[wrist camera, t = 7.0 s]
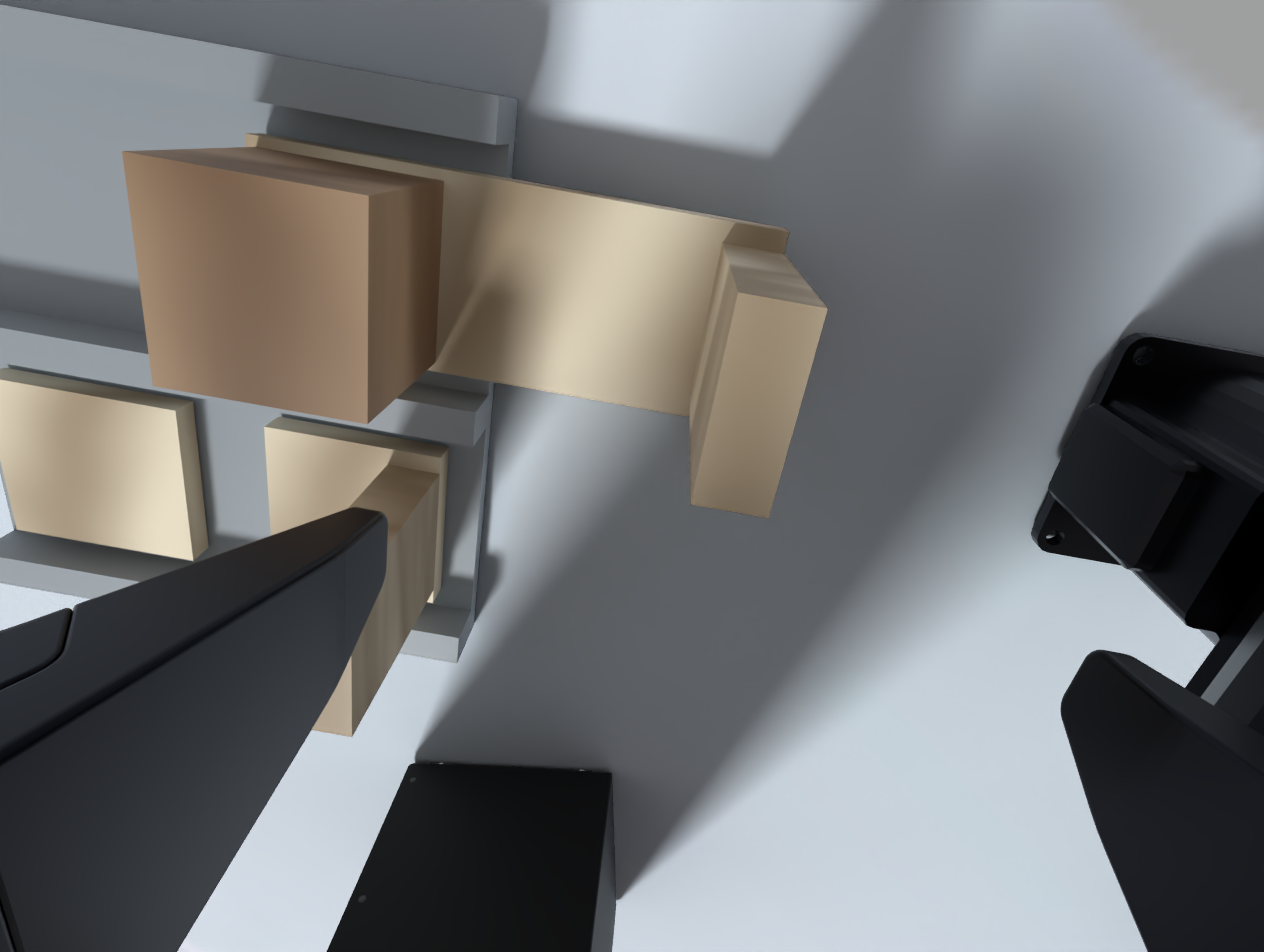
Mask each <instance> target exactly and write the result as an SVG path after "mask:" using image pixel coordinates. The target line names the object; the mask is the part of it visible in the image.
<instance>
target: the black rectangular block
mask: <svg viewBox="0 0 1264 952" xmlns="http://www.w3.org/2000/svg"><path fill="white" fill-rule="evenodd" d="M615 911H616V891H615V856H614V821H613V786H612V774H611V773H601V772H592V771H585V770H558V769H538V768H517V767H496V766H476V765H455V764H444V763H439V764H435V763H430V764H416V763H414V764H411V765H409V766H408V768H407V771H406V773H405V775H404V778H403V780H402V782H401V784H400V787H399V789H398V791H397V793H396V796H395V798H394V800H393V802H392V805H391V807H390V809H389V812H388V814H387V816H386V818H385V821H384V823H383V825H382V827H381V830H380V832H379V834H378V837H377V839H376V841H375V843H374V846H373V848H372V850H371V852H370V855H369V857H368V859H367V861H366V864H365V866H364V868H363V871H362V873H361V875H360V877H359V880H358V882H357V884H356V886H355V889H354V891H353V893H352V896H351V898H350V900H349V902H348V905H347V907H346V909H345V911H344V914H343V916H342V918H341V920H340V923H339V925H338V927H337V930H336V932H335V934H334V936H333V939H332V941H331V943H330V945H329V948H328V950H327V952H612V946H613V945H612V944H613V935H614V934H613V933H614V922H615V914H616V913H615Z"/></svg>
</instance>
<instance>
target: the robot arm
mask: <svg viewBox="0 0 1264 952" xmlns="http://www.w3.org/2000/svg"><path fill="white" fill-rule="evenodd" d="M1143 346H1145V348H1146V350H1145V354H1144V355H1143V356H1142V358H1140V359H1138V360H1136V361H1134V360H1133V356H1134V353H1135V352H1136V351H1137V349H1139V348H1141V347H1143ZM1048 489H1049V490H1050V492H1049V494H1048V496H1047V498H1046V500H1045V502H1044V504H1043V507H1042V509H1041V511H1040V513H1039V515H1038V517H1037V519H1036V521H1035V524H1034V526H1033V528H1032V532H1031V535H1032V539H1033V540H1034V541H1035V543H1036V544H1037V545H1038V546H1039V547H1040V548H1041V549H1042V550H1043V551H1046V552H1049V553H1055V554H1060V555H1066V556H1071V557H1077V558H1083V559H1088V560H1094V561H1099V562H1105V563H1111V564H1116V565H1122V566H1123V567H1124V568H1126V569H1129V570H1131V571H1132V572H1133V573H1134V574H1135V575H1136V576H1137V577H1138V578H1139V579H1140V580H1141V581H1142V582H1143V583H1144V584H1145V585H1146V586H1147V587H1148V588H1149V589H1150V590H1151V591H1153V592H1154V593H1155V594H1156V595H1157V596H1158V597H1159V598H1160V599H1161V600H1162V601H1163V602H1164V603H1165V604H1166V605H1167V606H1168V607H1169V608H1170V609H1171V610H1172V611H1173V612H1174V613H1175V614H1176V615H1177V616H1178V617H1179V618H1180V619H1181V620H1182V621H1183V622H1184V623H1185V624H1186V625H1187V626H1189V627H1192V628H1196V629H1199V630H1200V631H1201V632H1202V633H1203V634H1204V635H1205V636H1206V637H1207V638H1208V639H1209V640H1210V641H1211V642H1212V643H1213V644H1214V645H1215V647H1214V648H1213V650H1212V651H1211V652H1210V654H1209V655H1208V657H1207V658H1206V659H1205V661H1204V662H1203V664H1202V665H1201V666H1200V668H1199V669H1198V671H1197V672H1196V673H1195V675H1194V676H1193V678H1192V679H1191V680H1190V682H1189V683H1188V685H1187V686H1186V687H1185V688H1184V687H1182V686H1180V685H1179V684H1177V683H1175V682H1174V681H1172V680H1171V679H1169V678H1167V677H1166V676H1164V675H1162V674H1161V673H1159V672H1157V671H1156V670H1154V669H1152V668H1151V667H1149V666H1147V665H1146V664H1144V663H1142V662H1141V661H1139V660H1137V659H1136V658H1134V657H1132V656H1130V655H1126V654H1122V653H1117V652H1111V651H1106V650H1096V651H1093V652H1091V653H1090V654H1089V655H1087V657H1086V658H1085V660H1084V661H1083V663H1082V665H1081V666H1080V668H1079V670H1078V672H1077V673H1076V675H1075V677H1074V679H1073V680H1072V682H1071V684H1070V685H1069V687H1068V689H1067V691H1066V692H1065V694H1064V696H1063V698H1062V702H1061V717H1062V721H1063V724H1064V727H1065V730H1066V734H1067V737H1068V740H1069V743H1070V746H1071V750H1072V753H1073V756H1074V759H1075V763H1076V766H1077V769H1078V772H1079V775H1080V779H1081V782H1082V785H1083V788H1084V792H1085V795H1086V798H1087V801H1088V804H1089V808H1090V811H1091V814H1092V817H1093V820H1094V823H1095V826H1096V829H1097V831H1098V834H1099V836H1100V839H1101V842H1102V844H1103V847H1104V849H1105V852H1106V854H1107V856H1108V859H1109V861H1110V863H1111V866H1112V868H1113V871H1114V873H1115V875H1116V878H1117V880H1118V882H1119V885H1120V887H1121V890H1122V892H1123V894H1124V897H1125V899H1126V901H1127V904H1128V906H1129V909H1130V911H1131V913H1132V916H1133V918H1134V921H1135V923H1136V925H1137V928H1138V930H1139V932H1140V935H1141V937H1142V940H1143V942H1144V944H1145V947H1146V949H1147V951H1148V952H1264V355H1263V354H1257V353H1252V352H1246V351H1241V350H1235V349H1229V348H1224V347H1218V346H1213V345H1207V344H1202V343H1196V342H1191V341H1185V340H1180V339H1174V338H1169V337H1163V336H1158V335H1152V334H1147V333H1135V334H1132V335H1130V336H1128V337H1126V338H1125V339H1124V340H1122V341H1121V342H1120V344H1119V345H1118V347H1117V348H1116V350H1115V352H1114V355H1113V357H1112V359H1111V361H1110V363H1109V365H1108V367H1107V370H1106V372H1105V374H1104V376H1103V378H1102V380H1101V382H1100V384H1099V387H1098V389H1097V391H1096V393H1095V395H1094V397H1093V399H1092V402H1091V404H1090V406H1088V407H1087V408H1086V409H1084V410H1083V412H1082V414H1081V417H1080V419H1079V421H1078V423H1077V425H1076V427H1075V430H1074V432H1073V434H1072V436H1071V438H1070V440H1069V442H1068V445H1067V447H1066V449H1065V451H1064V453H1063V455H1062V457H1061V460H1060V462H1059V464H1058V466H1057V468H1056V470H1055V473H1054V475H1053V477H1052V479H1051V481H1050V483H1049V486H1048ZM1054 530H1058V533H1057V534H1056V535H1055V536H1054V537H1052V538H1046V536H1047V535H1048V534H1049V533H1050V532H1052V531H1054ZM387 545H388V519H387V516H386V515H385V514H384V513H383V512H380V511H376V510H370V509H365V508H360V507H351V508H348V509H345V510H342V511H339V512H336V513H334V514H331V515H328V516H325V517H322V518H319V519H317V520H314V521H311V522H308V523H305V524H303V525H300V526H297V527H294V528H291V529H288V530H286V531H283V532H280V533H277V534H274V535H271V536H269V537H266V538H263V539H260V540H257V541H254V542H252V543H249V544H246V545H243V546H240V547H238V548H235V549H232V550H229V551H226V552H223V553H221V554H218V555H215V556H212V557H209V558H206V559H204V560H201V561H198V562H195V563H192V564H189V565H187V566H184V567H181V568H178V569H175V570H173V571H170V572H167V573H164V574H161V575H158V576H156V577H153V578H150V579H147V580H144V581H141V582H139V583H136V584H133V585H130V586H127V587H124V588H122V589H119V590H116V591H113V592H110V593H107V594H105V595H102V596H99V597H96V598H93V599H91V600H88V601H85V602H82V603H79V604H77V605H75V606H74V608H73V611H72V610H71V609H70V608H64V609H62V610H59V611H56V612H53V613H51V614H48V615H45V616H42V617H40V618H37V619H34V620H31V621H28V622H25V623H22V624H20V625H17V626H14V627H11V628H8V629H5V630H2V631H0V952H177V951H178V949H179V947H180V946H181V944H182V943H183V941H184V939H185V938H186V936H187V934H188V933H189V931H190V929H191V928H192V926H193V924H194V923H195V921H196V919H197V918H198V916H199V914H200V913H201V911H202V909H203V908H204V906H205V905H206V903H207V901H208V900H209V898H210V896H211V895H212V893H213V891H214V890H215V888H216V886H217V885H218V883H219V881H220V880H221V878H222V876H223V875H224V873H225V872H226V870H227V868H228V867H229V865H230V863H231V862H232V860H233V858H234V857H235V855H236V853H237V852H238V850H239V848H240V847H241V845H242V843H243V842H244V840H245V838H246V837H247V835H248V834H249V832H250V830H251V829H252V827H253V825H254V824H255V822H256V820H257V819H258V817H259V815H260V814H261V812H262V810H263V809H264V807H265V805H266V804H267V802H268V801H269V799H270V797H271V796H272V794H273V792H274V791H275V789H276V787H277V786H278V784H279V782H280V781H281V779H282V777H283V776H284V774H285V772H286V771H287V769H288V768H289V766H290V764H291V763H292V761H293V759H294V758H295V756H296V754H297V753H298V751H299V749H300V748H301V746H302V744H303V743H304V741H305V739H306V738H307V736H308V734H309V733H310V731H311V730H312V728H313V726H314V725H315V723H316V721H317V720H318V718H319V716H320V715H321V713H322V711H323V710H324V708H325V706H326V705H327V703H328V701H329V700H330V698H331V696H332V694H333V692H334V691H335V689H336V687H337V685H338V683H339V681H340V679H341V677H342V675H343V673H344V671H345V668H346V666H347V664H348V662H349V659H350V657H351V655H352V653H353V651H354V648H355V646H356V644H357V642H358V639H359V637H360V635H361V633H362V631H363V628H364V626H365V624H366V622H367V620H368V617H369V615H370V613H371V611H372V608H373V606H374V604H375V602H376V600H377V597H378V595H379V593H380V591H381V588H382V586H383V583H384V580H385V575H386V568H387Z"/></svg>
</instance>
